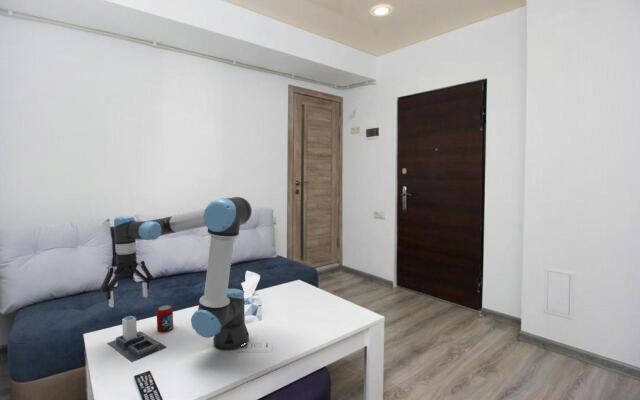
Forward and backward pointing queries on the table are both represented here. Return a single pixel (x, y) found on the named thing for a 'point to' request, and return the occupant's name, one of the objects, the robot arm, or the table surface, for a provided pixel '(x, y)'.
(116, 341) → the grey socket board
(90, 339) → the table surface
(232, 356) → the table surface
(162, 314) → the beverage can
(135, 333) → the plug
